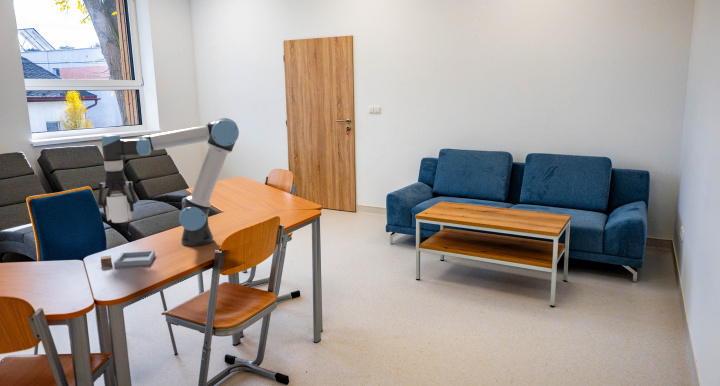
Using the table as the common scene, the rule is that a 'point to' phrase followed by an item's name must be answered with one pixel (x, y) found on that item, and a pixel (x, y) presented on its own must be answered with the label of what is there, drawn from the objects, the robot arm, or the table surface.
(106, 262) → the walnut block
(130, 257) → the tray
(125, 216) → the cup
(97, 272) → the table surface
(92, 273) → the table surface
